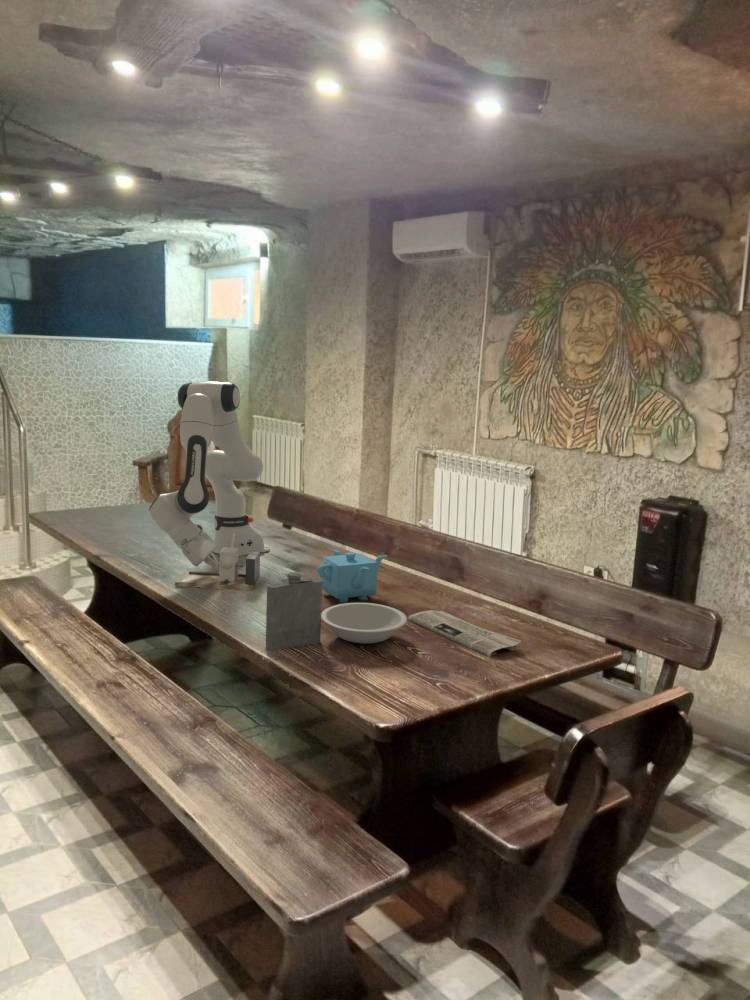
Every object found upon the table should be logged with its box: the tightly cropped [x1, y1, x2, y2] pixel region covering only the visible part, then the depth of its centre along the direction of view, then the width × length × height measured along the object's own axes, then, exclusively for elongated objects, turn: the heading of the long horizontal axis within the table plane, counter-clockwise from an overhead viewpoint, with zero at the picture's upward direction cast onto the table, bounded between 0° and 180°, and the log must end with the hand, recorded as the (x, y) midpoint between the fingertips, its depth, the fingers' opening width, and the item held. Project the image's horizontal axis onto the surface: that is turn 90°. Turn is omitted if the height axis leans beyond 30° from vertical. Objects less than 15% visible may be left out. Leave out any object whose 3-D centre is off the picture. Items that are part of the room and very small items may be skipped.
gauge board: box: [174, 571, 261, 592], centre depth 262 cm, size 26×12×2 cm, turn 89°
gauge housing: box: [218, 547, 244, 583], centre depth 259 cm, size 7×9×10 cm
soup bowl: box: [321, 602, 408, 644], centre depth 218 cm, size 24×24×7 cm
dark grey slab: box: [245, 551, 261, 585], centre depth 261 cm, size 3×10×9 cm, turn 179°
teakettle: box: [316, 548, 388, 604], centre depth 253 cm, size 19×19×15 cm
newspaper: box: [407, 609, 522, 658], centre depth 225 cm, size 35×12×4 cm, turn 38°
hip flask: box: [265, 571, 323, 652], centre depth 210 cm, size 16×4×20 cm, turn 121°
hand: (216, 566), depth 261 cm, fingers closed
